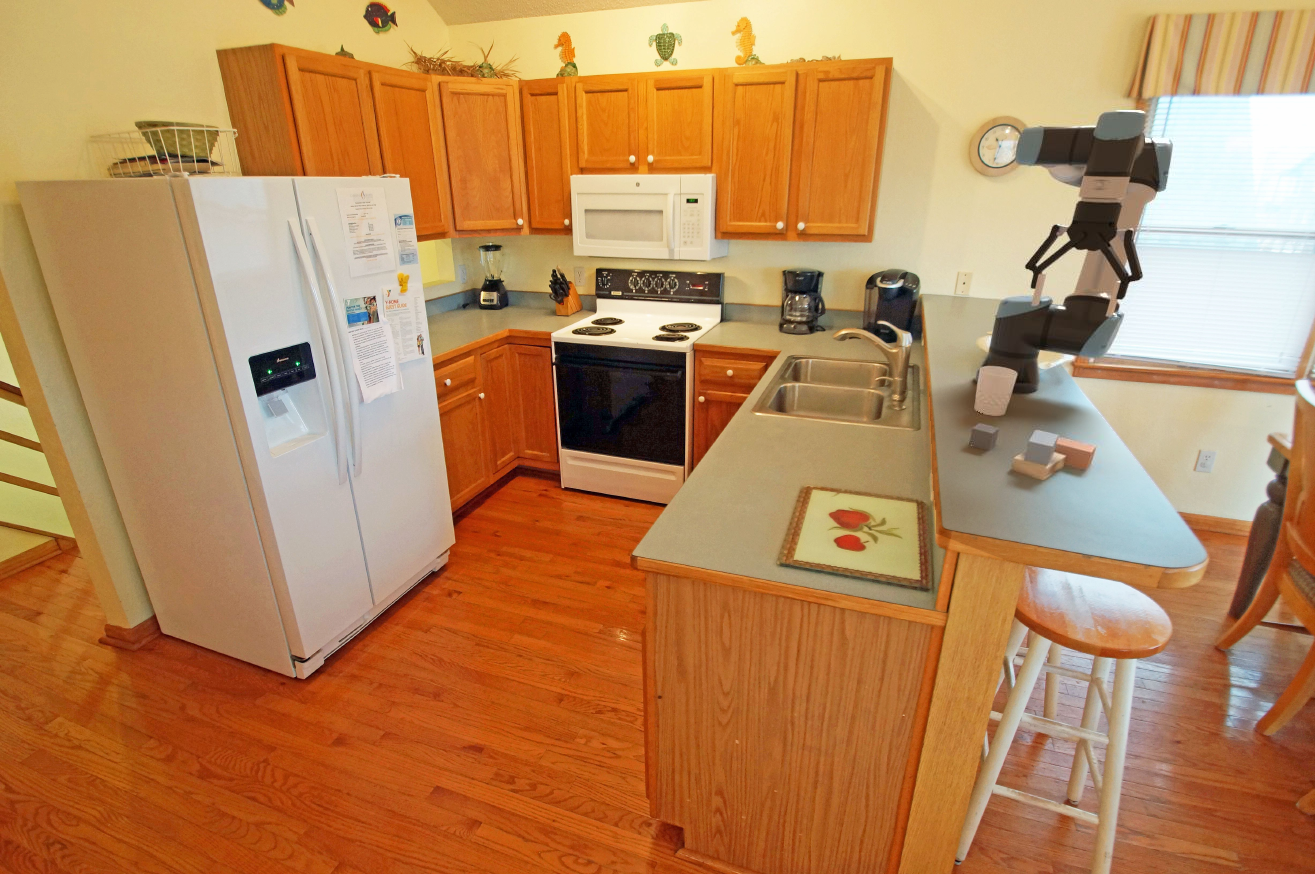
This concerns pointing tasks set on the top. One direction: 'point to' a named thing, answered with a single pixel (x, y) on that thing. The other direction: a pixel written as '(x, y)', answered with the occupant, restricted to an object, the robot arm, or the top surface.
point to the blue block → (1041, 447)
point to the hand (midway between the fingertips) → (1071, 310)
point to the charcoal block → (984, 436)
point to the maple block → (1038, 466)
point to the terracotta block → (1075, 452)
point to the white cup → (994, 390)
